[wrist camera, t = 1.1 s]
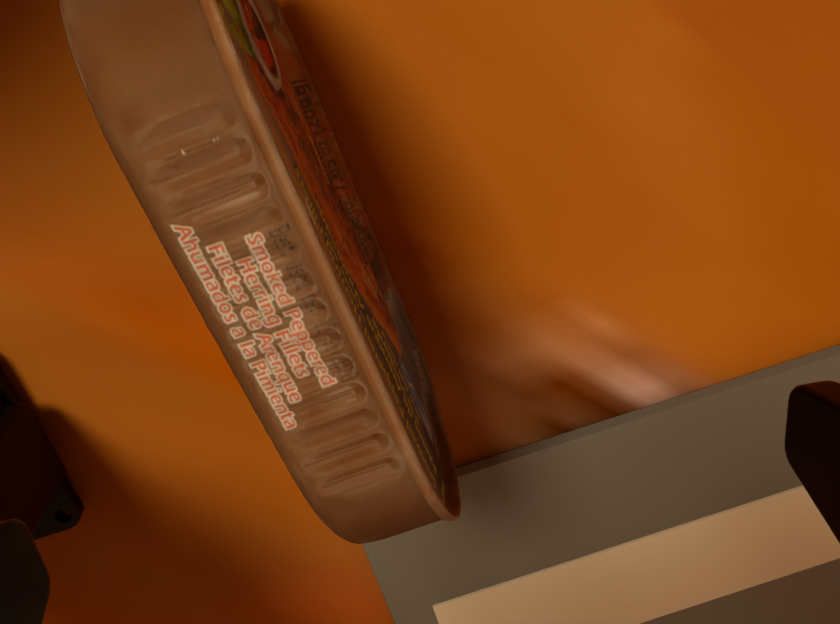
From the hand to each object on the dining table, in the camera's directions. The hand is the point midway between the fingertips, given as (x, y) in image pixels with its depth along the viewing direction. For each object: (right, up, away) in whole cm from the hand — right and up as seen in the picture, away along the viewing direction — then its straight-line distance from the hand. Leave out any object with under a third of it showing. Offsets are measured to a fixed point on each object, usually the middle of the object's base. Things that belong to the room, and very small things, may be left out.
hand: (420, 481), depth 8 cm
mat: (+9, -8, +18) cm, 22 cm away
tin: (-3, +5, +12) cm, 13 cm away
